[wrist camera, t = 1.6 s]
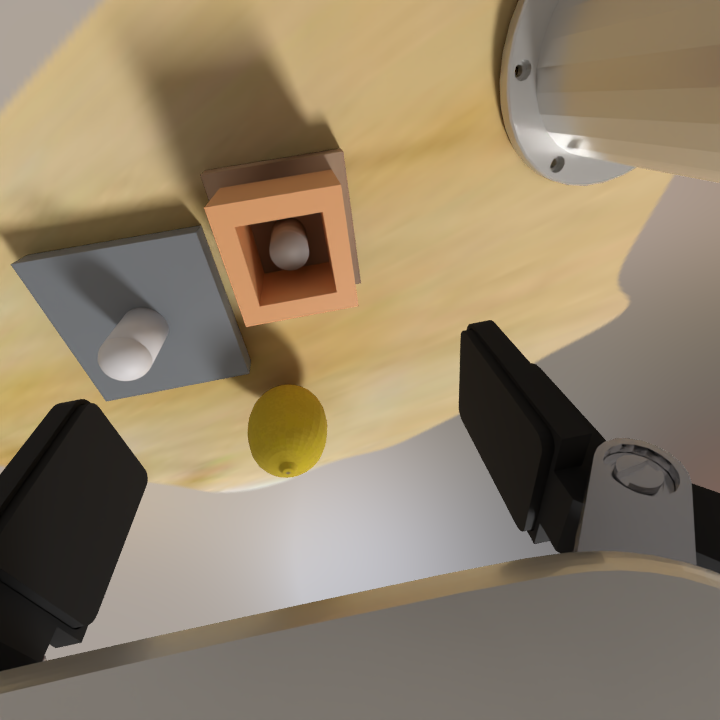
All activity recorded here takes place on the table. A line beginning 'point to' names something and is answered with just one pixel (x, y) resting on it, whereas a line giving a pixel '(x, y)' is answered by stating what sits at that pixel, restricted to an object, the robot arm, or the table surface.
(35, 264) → the plate
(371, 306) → the table surface
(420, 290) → the table surface
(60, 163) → the table surface
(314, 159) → the stand
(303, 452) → the lemon
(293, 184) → the collar
